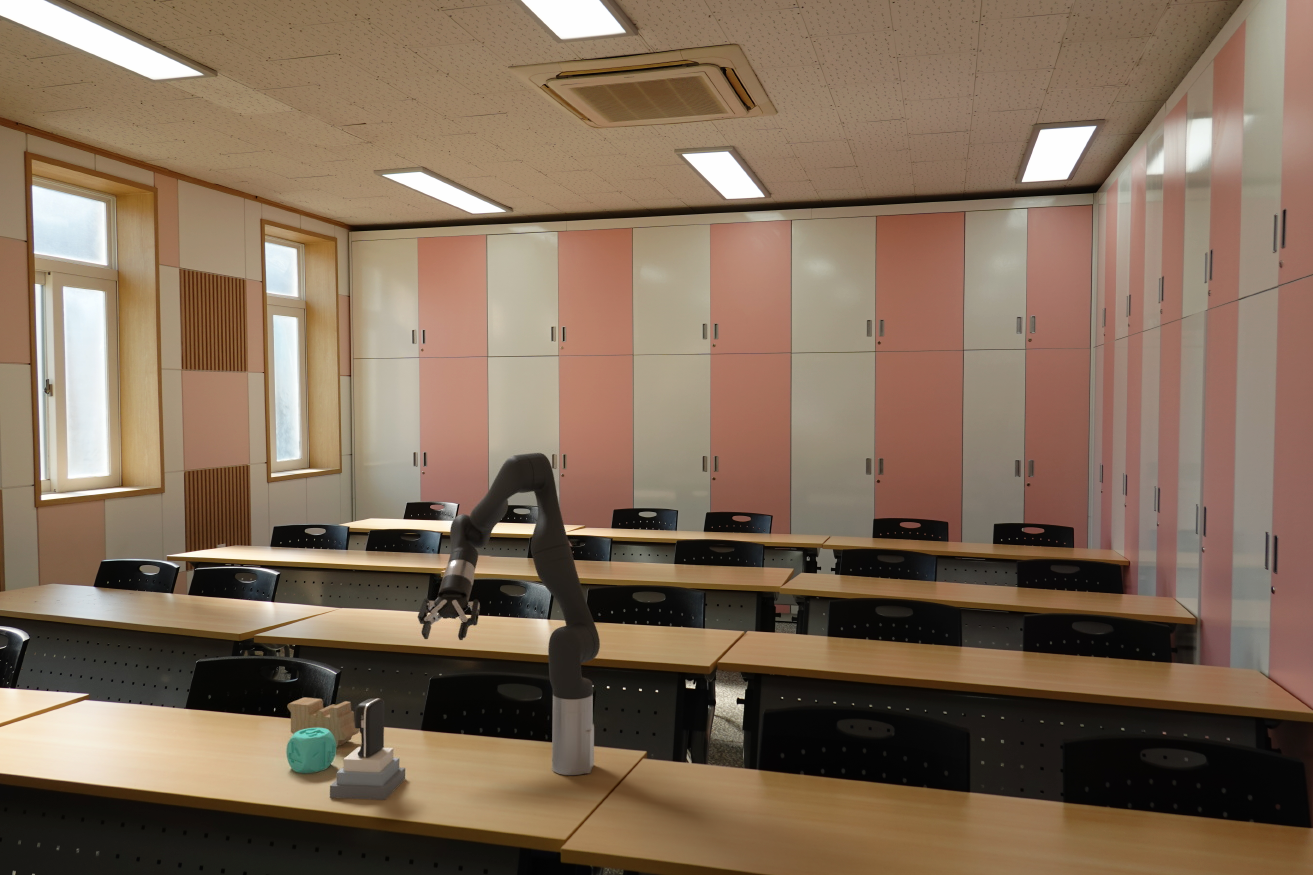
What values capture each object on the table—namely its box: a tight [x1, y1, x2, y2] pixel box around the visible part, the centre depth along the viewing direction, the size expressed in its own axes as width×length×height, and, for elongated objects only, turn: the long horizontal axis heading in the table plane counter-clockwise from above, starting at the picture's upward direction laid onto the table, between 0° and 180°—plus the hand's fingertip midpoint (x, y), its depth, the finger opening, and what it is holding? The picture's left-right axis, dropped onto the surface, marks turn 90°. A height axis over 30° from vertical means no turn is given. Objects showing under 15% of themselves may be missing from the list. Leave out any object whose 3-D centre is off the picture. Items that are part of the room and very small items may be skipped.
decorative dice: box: [285, 728, 337, 774], centre depth 212 cm, size 8×8×8 cm
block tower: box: [329, 746, 406, 801], centre depth 199 cm, size 12×12×8 cm
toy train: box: [287, 697, 360, 748], centre depth 229 cm, size 6×17×10 cm, turn 73°
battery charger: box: [354, 698, 385, 758], centre depth 200 cm, size 7×4×11 cm, turn 167°
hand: (442, 637), depth 218 cm, fingers open, 8 cm apart
